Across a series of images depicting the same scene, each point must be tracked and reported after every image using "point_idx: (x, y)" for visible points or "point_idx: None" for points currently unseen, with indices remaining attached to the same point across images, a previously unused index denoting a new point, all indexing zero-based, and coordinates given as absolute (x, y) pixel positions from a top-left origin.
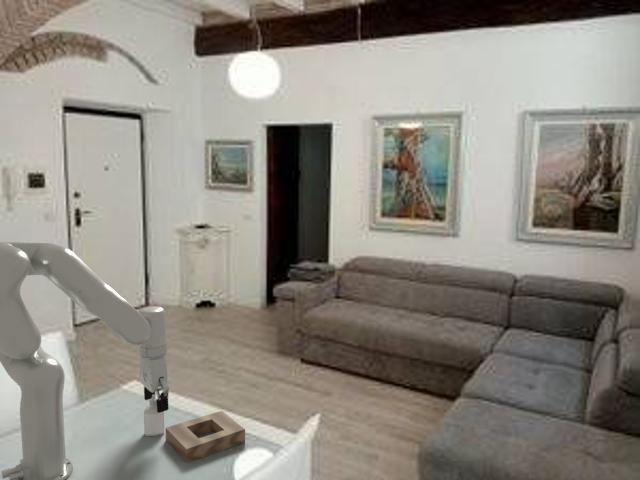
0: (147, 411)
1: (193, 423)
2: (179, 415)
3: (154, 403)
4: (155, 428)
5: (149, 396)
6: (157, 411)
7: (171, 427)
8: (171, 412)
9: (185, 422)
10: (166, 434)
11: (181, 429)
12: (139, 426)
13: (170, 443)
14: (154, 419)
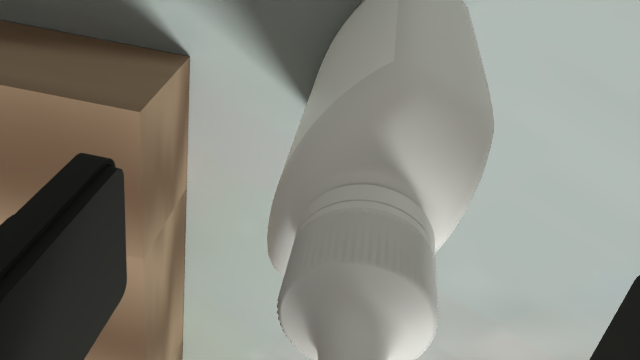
0: (366, 105)
1: None
2: (482, 340)
3: (291, 261)
4: (320, 71)
5: (627, 354)
6: (85, 159)
7: (109, 152)
8: (579, 336)
9: (130, 277)
10: (144, 80)
11: (24, 189)
12: (633, 36)
13: (76, 44)
14: (307, 111)
